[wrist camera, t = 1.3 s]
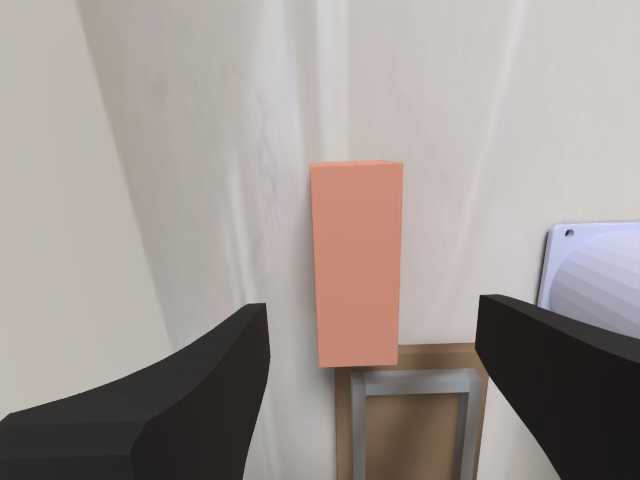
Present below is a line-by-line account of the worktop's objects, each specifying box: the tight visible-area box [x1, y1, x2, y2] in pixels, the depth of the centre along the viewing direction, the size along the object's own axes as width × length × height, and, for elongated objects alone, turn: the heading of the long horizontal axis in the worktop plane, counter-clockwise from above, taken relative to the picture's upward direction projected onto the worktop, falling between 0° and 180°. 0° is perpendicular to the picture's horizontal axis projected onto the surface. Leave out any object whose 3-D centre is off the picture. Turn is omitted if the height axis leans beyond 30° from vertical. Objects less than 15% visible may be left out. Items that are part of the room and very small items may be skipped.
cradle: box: [335, 343, 489, 480], centre depth 23 cm, size 10×16×2 cm, turn 2°
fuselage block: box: [310, 160, 403, 368], centre depth 18 cm, size 4×10×5 cm, turn 2°
